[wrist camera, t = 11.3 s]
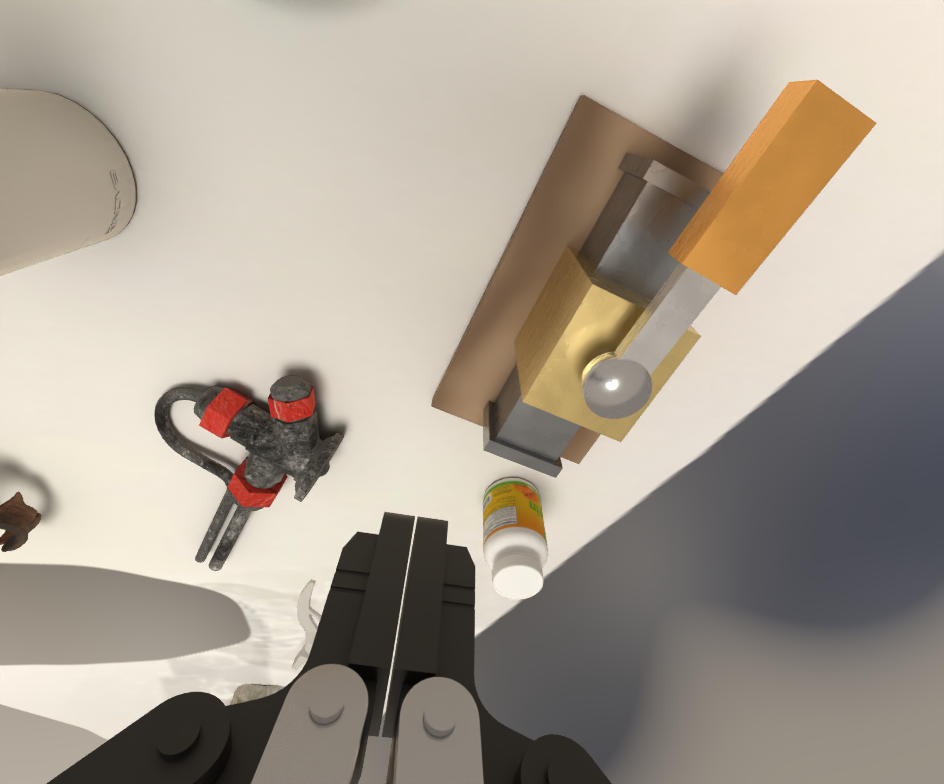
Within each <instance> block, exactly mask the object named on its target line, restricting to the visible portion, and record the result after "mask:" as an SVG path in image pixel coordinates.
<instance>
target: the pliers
mask: <svg viewBox="0 0 944 784" xmlns="http://www.w3.org/2000/svg"><path fill="white" fill-rule="evenodd" d="M314 584H315V581H314V580H311V581H310V582H309V583H308V584H307V585H306V586H305V588H304V589H303V591H302V593H301V595H300V598H299V601H298V607H297V614H298V619H299V622H300V625H301V626H302V627H303V629H304V630H305V631H306V644H305V645H304V647H303V648H302V650H301V651H300V652H299V654H298V655H297V656H296V658H295V660H294V663H293V666H292V668H294V669H298V668H299V667H300V666H302V665H303V664H304V663H306V662H307V659H308V657H309V654H310V651H311V648H312V645H313V641H314V638H315V635H316V632H317V629H318V627H317V625H316V624H315V622H314V621H313V619H312V617H311V615H312V616H314V617H316V618H317V619H318V620H319V621H320V619H321V615H320V614H319V613H318V612H316V611H315V610H313V609H312V608H311V607H310V596H311V592H312V589H313V586H314Z"/></svg>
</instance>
